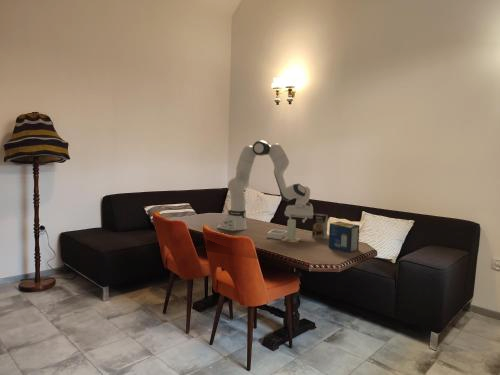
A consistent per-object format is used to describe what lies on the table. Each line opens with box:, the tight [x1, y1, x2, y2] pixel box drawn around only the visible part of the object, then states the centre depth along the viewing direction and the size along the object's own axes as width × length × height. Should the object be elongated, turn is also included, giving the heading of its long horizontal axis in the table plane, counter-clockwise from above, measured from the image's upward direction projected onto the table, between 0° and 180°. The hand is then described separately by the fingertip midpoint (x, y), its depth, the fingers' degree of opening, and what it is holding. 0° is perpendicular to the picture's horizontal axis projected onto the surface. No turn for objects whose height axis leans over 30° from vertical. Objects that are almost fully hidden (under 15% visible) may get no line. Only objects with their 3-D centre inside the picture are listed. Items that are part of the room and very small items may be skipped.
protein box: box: [328, 221, 360, 253], centre depth 227 cm, size 10×15×16 cm
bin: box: [266, 228, 287, 240], centre depth 254 cm, size 11×12×4 cm
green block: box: [286, 218, 297, 240], centre depth 245 cm, size 4×4×13 cm
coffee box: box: [311, 213, 329, 239], centre depth 256 cm, size 9×6×16 cm
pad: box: [281, 237, 301, 244], centre depth 245 cm, size 10×10×1 cm
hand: (296, 221), depth 255 cm, fingers open, 8 cm apart
